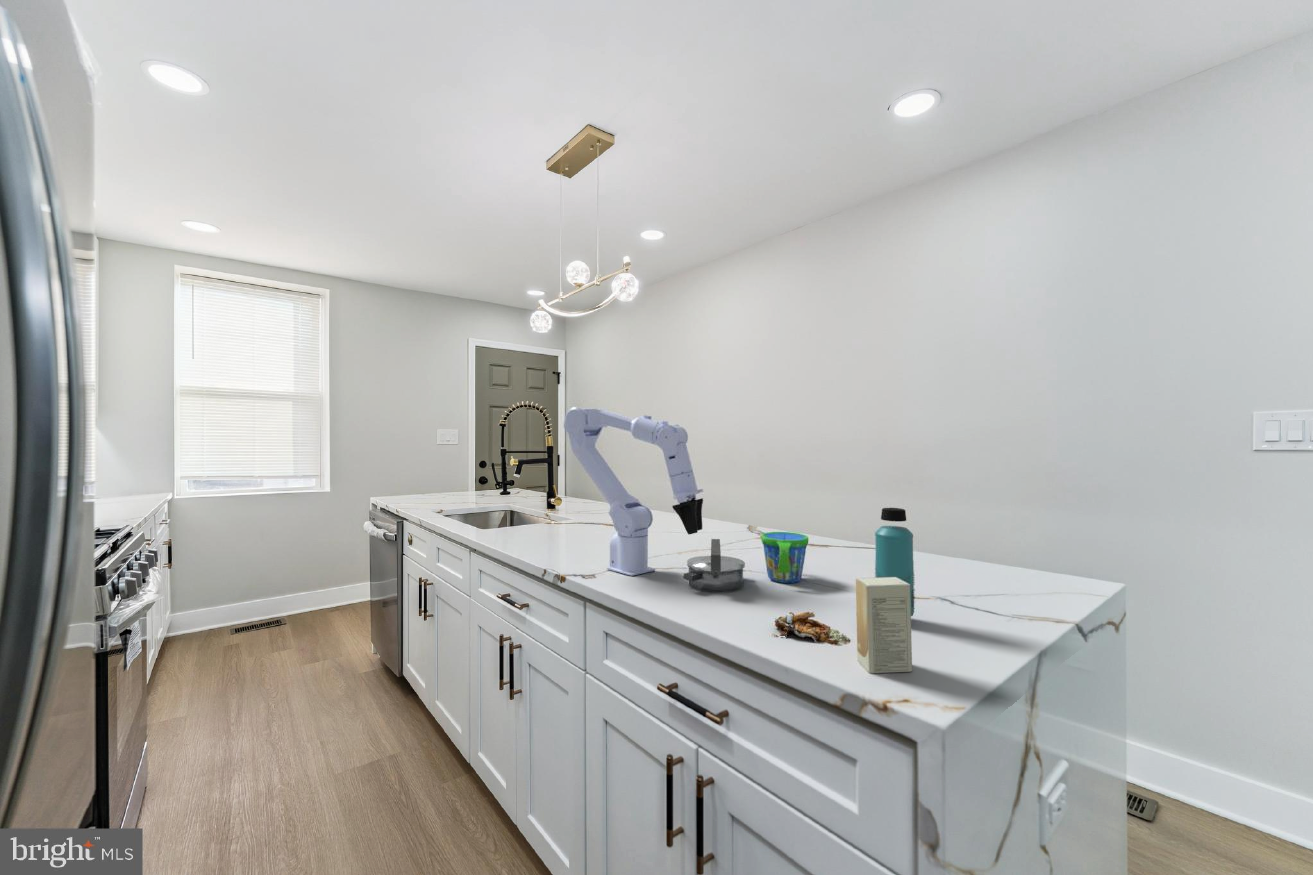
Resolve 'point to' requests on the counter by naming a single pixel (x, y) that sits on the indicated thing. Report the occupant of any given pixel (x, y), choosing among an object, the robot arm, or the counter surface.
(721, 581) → the pot
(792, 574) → the snack cup
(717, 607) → the counter surface
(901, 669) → the skincare box
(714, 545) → the lid
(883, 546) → the beverage bottle
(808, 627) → the brown lumpy piece
